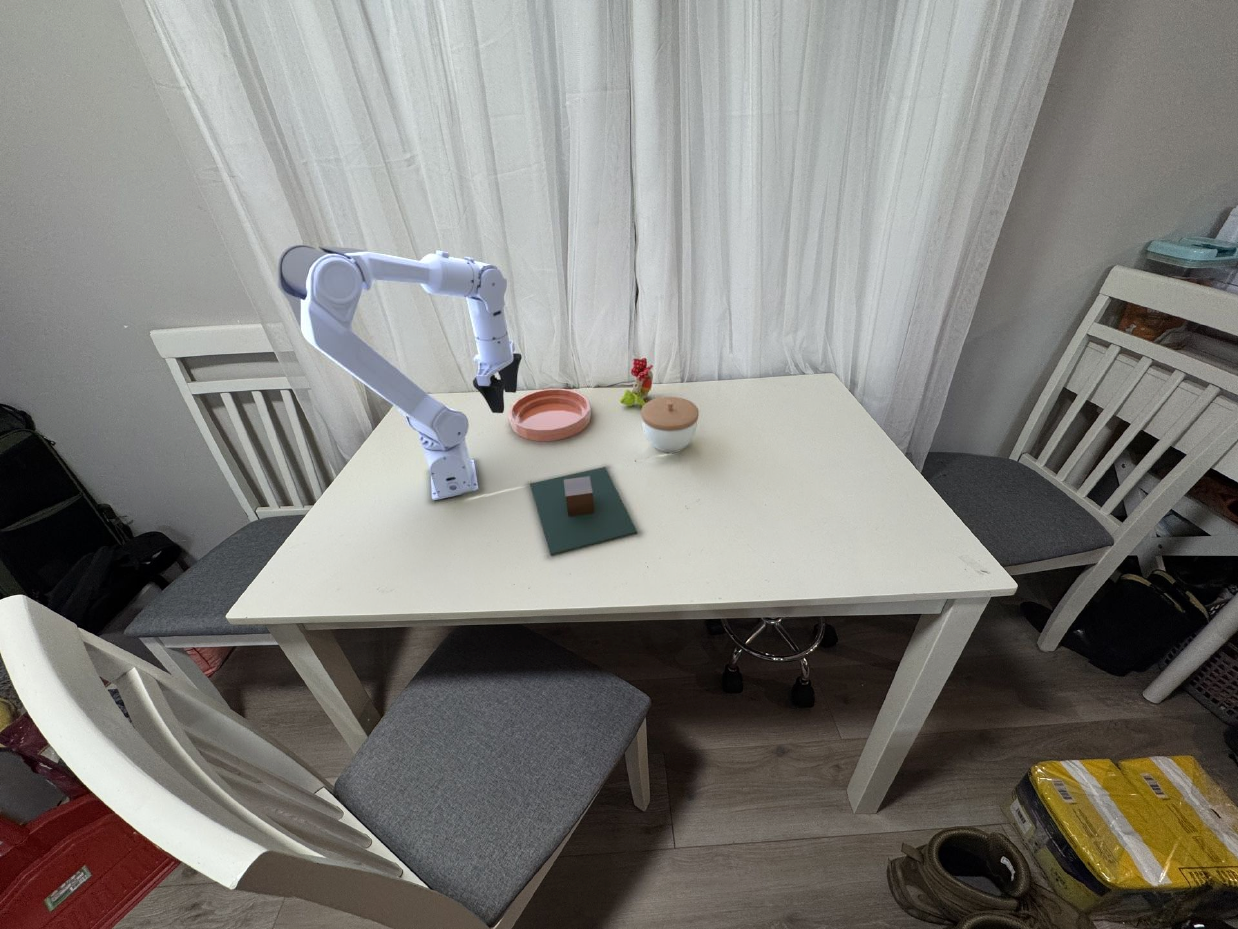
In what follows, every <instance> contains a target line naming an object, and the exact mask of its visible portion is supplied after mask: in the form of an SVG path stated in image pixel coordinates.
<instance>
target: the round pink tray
mask: <svg viewBox="0 0 1238 929" xmlns="http://www.w3.org/2000/svg"><path fill="white" fill-rule="evenodd" d="M591 412H592V410H591V403H590V401H589V399H588V398H587V397H586V396H585V395H583V394H582V393H581V392H579V391H576V390H573V389H567V388H545V389H539V390H535V391H532V392H530V393H526V394H524V395H523V396H521V397H519V398H517V399H516V400H515V401H514V402H513V403H512V404H511V405H510V408H509V411H508V418H509V421H510V426H511V429H512V431H513V432H514V433H515V434H516V435H517V436H518V437H521V438H524V439H525V440H528V441H529V440H530V441H535V442H541V443H542V442H555V441H556V442H557V441H560V440H566V439H568V438H571V437H573V436H575V435H577V434H579V433H580V432H582V431H583V430H585V429H586V428H587V426H588V425H589V424H590V422H591V417H592V414H591Z"/></svg>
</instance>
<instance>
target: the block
mask: <svg viewBox="0 0 1238 929" xmlns="http://www.w3.org/2000/svg"><path fill="white" fill-rule="evenodd" d="M564 488H565V496H566V504H567V511H568V516H576V515H583V514H590V513H595V512H594V501H593V491H592V486H591V480H590V476H588V477H580V478H572V479H565V480H564Z"/></svg>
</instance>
